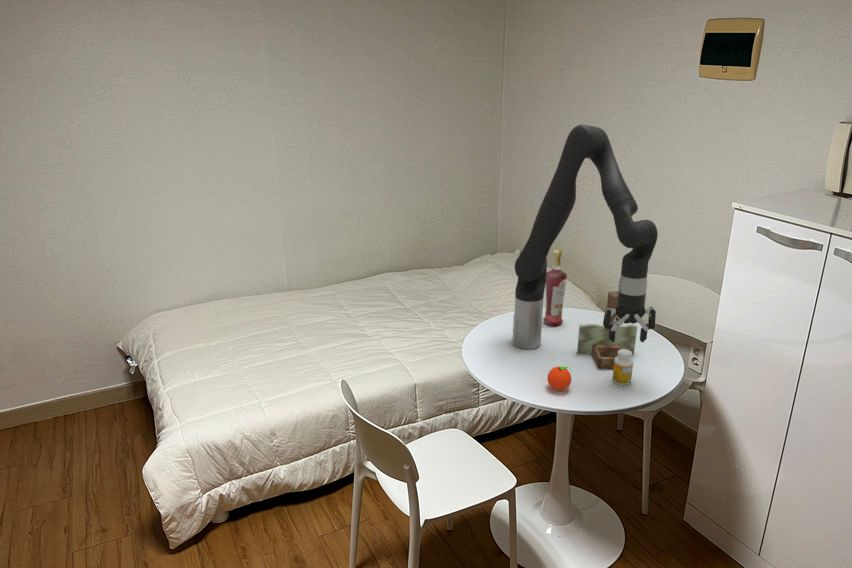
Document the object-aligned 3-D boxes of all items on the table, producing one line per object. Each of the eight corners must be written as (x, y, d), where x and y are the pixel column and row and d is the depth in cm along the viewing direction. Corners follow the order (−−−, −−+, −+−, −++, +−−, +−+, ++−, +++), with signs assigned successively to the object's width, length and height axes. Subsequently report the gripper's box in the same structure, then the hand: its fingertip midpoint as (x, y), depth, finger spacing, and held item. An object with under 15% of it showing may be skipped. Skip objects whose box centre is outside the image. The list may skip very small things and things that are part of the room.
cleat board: (583, 368, 193) (586, 339, 189) (577, 351, 204) (579, 324, 200) (642, 369, 192) (645, 340, 188) (632, 352, 203) (636, 324, 199)
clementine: (563, 379, 187) (564, 359, 184) (578, 390, 181) (580, 368, 178) (541, 386, 183) (543, 365, 181) (556, 397, 177) (558, 375, 175)
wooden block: (629, 339, 212) (634, 290, 205) (633, 345, 208) (639, 295, 201) (603, 340, 211) (608, 291, 205) (607, 345, 207) (612, 296, 201)
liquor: (554, 329, 220) (559, 254, 210) (538, 322, 225) (542, 249, 215) (567, 323, 224) (573, 250, 214) (551, 317, 229) (556, 245, 219)
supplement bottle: (609, 377, 188) (612, 348, 184) (626, 376, 188) (630, 347, 185) (616, 386, 183) (619, 356, 179) (633, 385, 183) (637, 355, 180)
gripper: (609, 294, 172) (605, 346, 178) (662, 294, 171) (655, 346, 177) (604, 285, 179) (599, 335, 185) (654, 284, 178) (648, 335, 184)
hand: (627, 341), depth 181 cm, fingers open, 8 cm apart
